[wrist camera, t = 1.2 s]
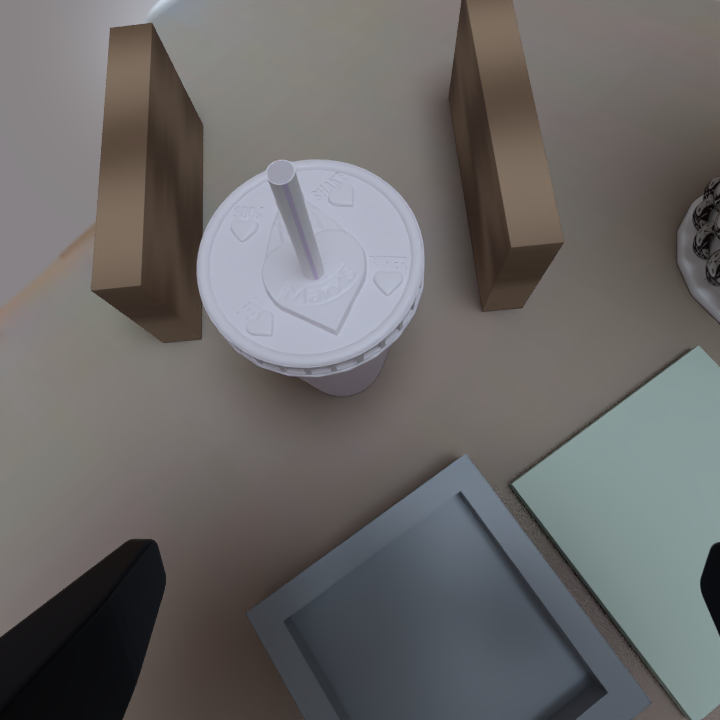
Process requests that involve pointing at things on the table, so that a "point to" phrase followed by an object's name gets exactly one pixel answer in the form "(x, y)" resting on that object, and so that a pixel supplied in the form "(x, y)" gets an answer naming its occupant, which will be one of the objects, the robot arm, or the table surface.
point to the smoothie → (313, 272)
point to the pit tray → (441, 621)
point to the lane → (185, 175)
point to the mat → (646, 521)
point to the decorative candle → (702, 248)
